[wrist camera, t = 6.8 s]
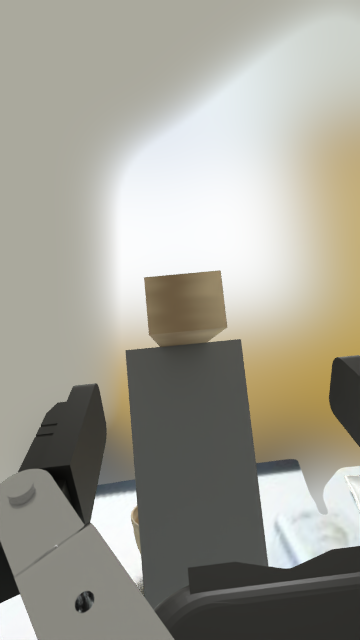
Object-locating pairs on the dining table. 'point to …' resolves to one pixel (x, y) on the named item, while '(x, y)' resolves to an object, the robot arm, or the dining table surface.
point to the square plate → (354, 487)
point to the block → (185, 308)
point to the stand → (193, 462)
